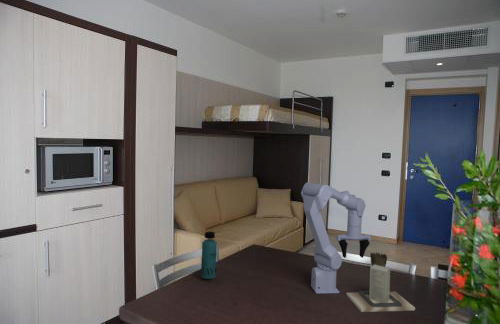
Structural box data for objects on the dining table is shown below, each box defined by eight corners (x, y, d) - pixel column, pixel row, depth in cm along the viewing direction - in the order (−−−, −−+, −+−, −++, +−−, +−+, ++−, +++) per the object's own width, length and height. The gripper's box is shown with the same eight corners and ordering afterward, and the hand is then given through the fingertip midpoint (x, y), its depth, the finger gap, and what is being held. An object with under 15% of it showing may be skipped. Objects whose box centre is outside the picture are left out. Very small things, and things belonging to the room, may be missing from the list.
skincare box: (389, 300, 124) (391, 268, 124) (385, 304, 121) (387, 271, 120) (372, 295, 128) (374, 263, 128) (368, 299, 125) (369, 266, 125)
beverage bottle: (197, 280, 140) (198, 233, 139) (205, 275, 146) (206, 229, 145) (211, 283, 137) (212, 235, 136) (219, 277, 143) (220, 231, 142)
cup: (388, 275, 152) (388, 257, 151) (370, 273, 153) (371, 256, 153) (384, 269, 159) (385, 252, 159) (368, 267, 161) (369, 251, 160)
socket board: (361, 311, 117) (361, 306, 117) (346, 295, 130) (346, 290, 130) (415, 310, 119) (415, 304, 119) (395, 294, 132) (395, 289, 132)
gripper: (366, 223, 148) (364, 253, 149) (334, 223, 146) (333, 254, 147) (373, 227, 141) (372, 259, 142) (340, 227, 139) (339, 259, 140)
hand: (352, 256), depth 144 cm, fingers open, 7 cm apart
